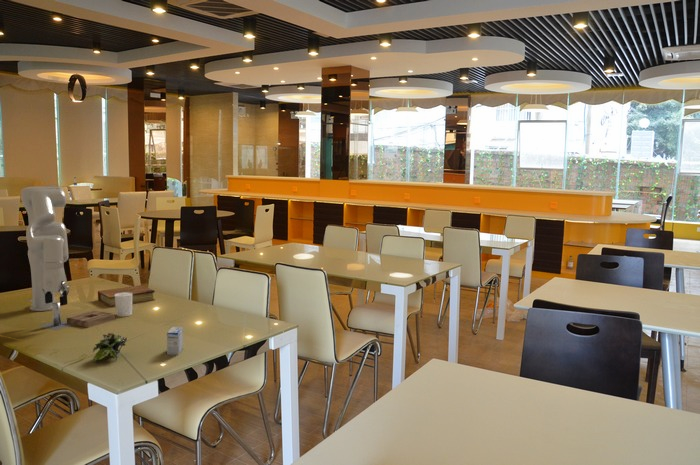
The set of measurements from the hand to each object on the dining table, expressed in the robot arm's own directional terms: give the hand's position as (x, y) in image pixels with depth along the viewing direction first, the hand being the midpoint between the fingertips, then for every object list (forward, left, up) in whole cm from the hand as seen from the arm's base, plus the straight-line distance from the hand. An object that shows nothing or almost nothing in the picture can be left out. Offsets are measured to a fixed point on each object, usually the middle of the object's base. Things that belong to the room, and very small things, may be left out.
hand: (56, 304), depth 246 cm
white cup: (+10, +27, -10) cm, 31 cm away
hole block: (+7, +11, -10) cm, 17 cm away
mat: (-1, 0, -10) cm, 10 cm away
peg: (-1, 0, -10) cm, 10 cm away
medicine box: (+69, -1, -10) cm, 70 cm away
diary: (-12, +48, -11) cm, 51 cm away
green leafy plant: (+54, -18, -10) cm, 58 cm away
